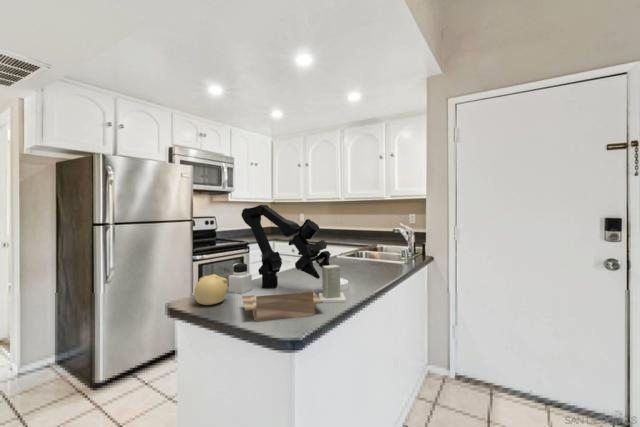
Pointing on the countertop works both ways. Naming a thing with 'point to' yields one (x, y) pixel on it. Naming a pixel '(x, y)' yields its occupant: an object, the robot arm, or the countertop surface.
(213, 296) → the yellow round lump
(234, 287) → the medicine bottle
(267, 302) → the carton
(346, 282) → the round white container
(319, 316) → the countertop surface
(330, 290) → the skincare box
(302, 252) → the robot arm
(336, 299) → the pad
